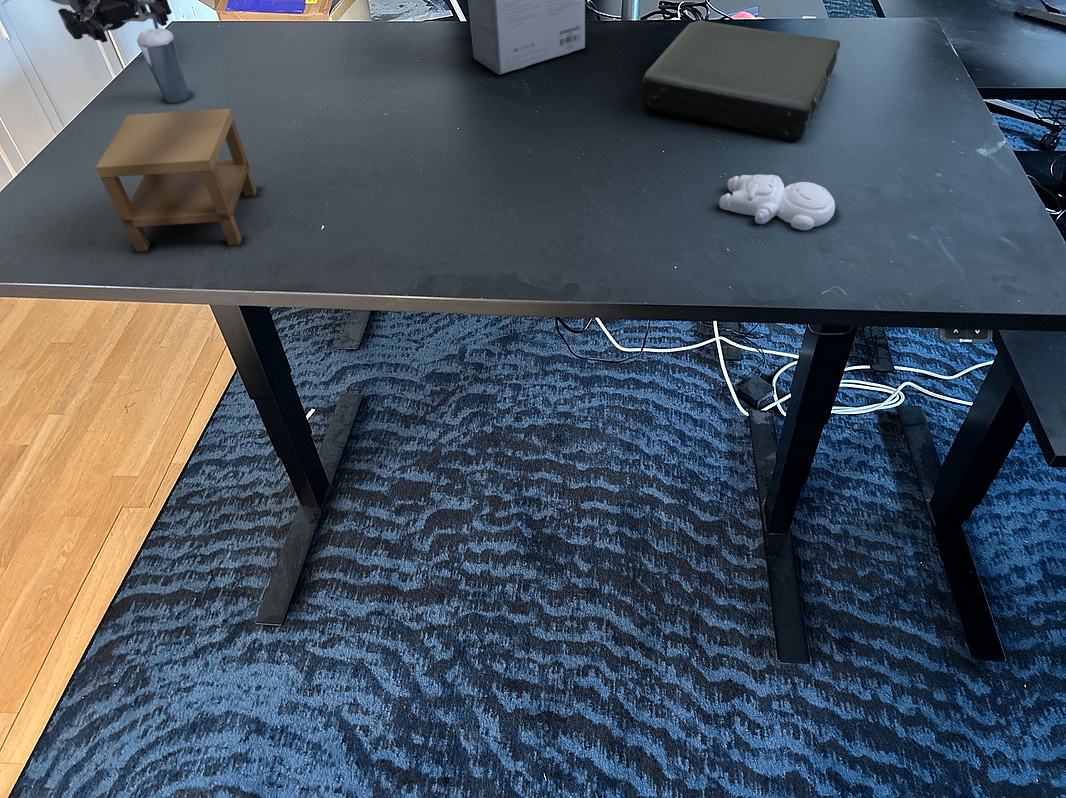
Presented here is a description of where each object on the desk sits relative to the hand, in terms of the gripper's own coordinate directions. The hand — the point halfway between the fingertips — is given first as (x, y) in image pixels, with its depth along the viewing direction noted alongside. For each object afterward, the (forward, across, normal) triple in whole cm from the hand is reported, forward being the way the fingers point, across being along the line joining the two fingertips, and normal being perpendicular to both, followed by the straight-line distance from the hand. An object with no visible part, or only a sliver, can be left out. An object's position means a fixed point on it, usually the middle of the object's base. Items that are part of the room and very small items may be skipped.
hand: (133, 26), depth 108 cm
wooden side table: (+42, -10, +7) cm, 44 cm away
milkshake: (+10, 0, +7) cm, 12 cm away
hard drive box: (+33, +45, +7) cm, 56 cm away
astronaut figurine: (+83, +39, +7) cm, 92 cm away
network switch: (+62, +57, +7) cm, 85 cm away
